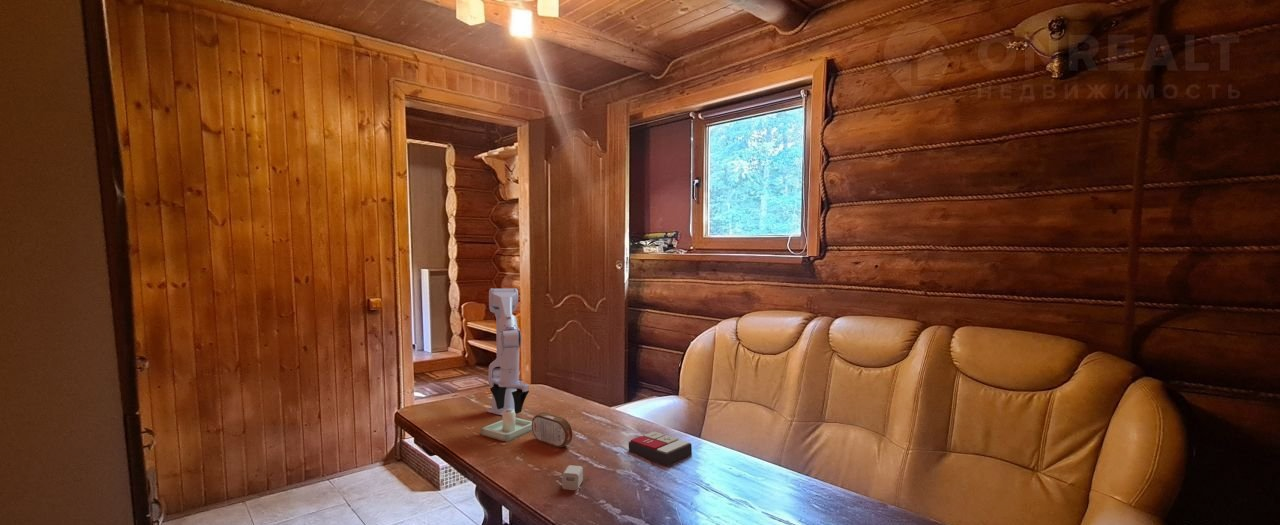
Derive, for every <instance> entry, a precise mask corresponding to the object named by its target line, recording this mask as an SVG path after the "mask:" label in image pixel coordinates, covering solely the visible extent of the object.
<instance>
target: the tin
mask: <svg viewBox="0 0 1280 525" xmlns="http://www.w3.org/2000/svg"><path fill="white" fill-rule="evenodd" d="M531 421H532V431H531V432H532V435H533V436H534V437H535V439H536V440H538V441H539V442H540V443H541V442H542V443H545V444H547V445H550V446H552V447H555V446H556V448H563V447H565V446H568V445H569V444H570V443H571V442H572V440H573V429H572V426H571V424H570V423H569V421H568V420H567V419H565V418H564V417H561V416H557V415H555V414H551V413H548V412H546V411H545V412H544V411H543V412H540V413H539V414H537V415H535V416H533V418H532V420H531Z"/></svg>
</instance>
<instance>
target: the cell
mask: <svg viewBox="0 0 1280 525" xmlns="http://www.w3.org/2000/svg"><path fill="white" fill-rule="evenodd" d="M501 416H502V419H501V420H502V431H504V432H512V431H514V430H515V418H517V417H516V413H515V410H514V409H511V408H509V409H506V410H503V415H501Z"/></svg>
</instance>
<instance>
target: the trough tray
mask: <svg viewBox="0 0 1280 525" xmlns="http://www.w3.org/2000/svg"><path fill="white" fill-rule="evenodd" d="M529 432H533V431H532V420H529V419H528V420H527V419H524V418H523V419H522V418H519V417H515V430H514V431H512V432H504V431H502V419H501V420H499V421H496V422H493V423H491V424H489V425H486V426H484V427H481V428H480V435H481V436H485V437H488V438H491V439H495V440H497V441H498V440H499V441H502V442H506V443H508V442H510V441H511V440H514V439H516V438H518V437H521V436H523V435H525V434H528V433H529Z"/></svg>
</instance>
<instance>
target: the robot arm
mask: <svg viewBox="0 0 1280 525" xmlns="http://www.w3.org/2000/svg"><path fill="white" fill-rule="evenodd" d="M518 302H519V289H517V287H515V288H513V287H511V288H492V287H491V288H490V289H489V290H488V309H489V312H491V313H493V314H494V315H495V319H496V321H495V323H496V324H495V325H496V327H495V329H496V330H495V331H496V336H495V337H496V358H495V359H494V360H493V361H492V362H490V364H489V365H488V372H487V375H488V376H487V378H488V379H487V380H488V386H490V392H491V408H490V409H487V410H486V412H487V413H490V414H494V415H498V416H499V415H500V416H502V415H503V410H506V409H509V408H511V409H514V410H515V413H516V414H519V413H521V412H522V410H523V406H524V404H525V401H526V398H527V396H528V395H529V393H530V384H529V383H525V382H523V381H521V380H520V348H521V345H522V333H521V329H520V328H519V326H518V321H517V317H516V316H515V315H514V314H513V312H515V311H516V309H517V307H518V304H519V303H518Z"/></svg>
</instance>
